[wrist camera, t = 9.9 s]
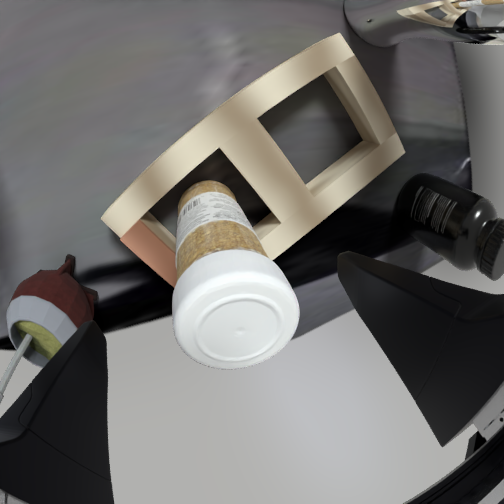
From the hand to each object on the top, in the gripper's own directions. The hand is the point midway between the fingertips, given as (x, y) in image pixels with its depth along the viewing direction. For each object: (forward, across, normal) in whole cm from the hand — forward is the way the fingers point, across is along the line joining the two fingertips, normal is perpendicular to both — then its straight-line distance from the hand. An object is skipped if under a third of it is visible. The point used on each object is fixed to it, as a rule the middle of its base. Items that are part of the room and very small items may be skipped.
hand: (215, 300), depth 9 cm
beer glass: (+13, -17, -13) cm, 25 cm away
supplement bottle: (+13, -21, +5) cm, 25 cm away
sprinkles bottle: (+13, -1, +1) cm, 13 cm away
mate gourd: (+13, +14, +4) cm, 20 cm away
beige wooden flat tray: (+13, -5, -1) cm, 14 cm away
